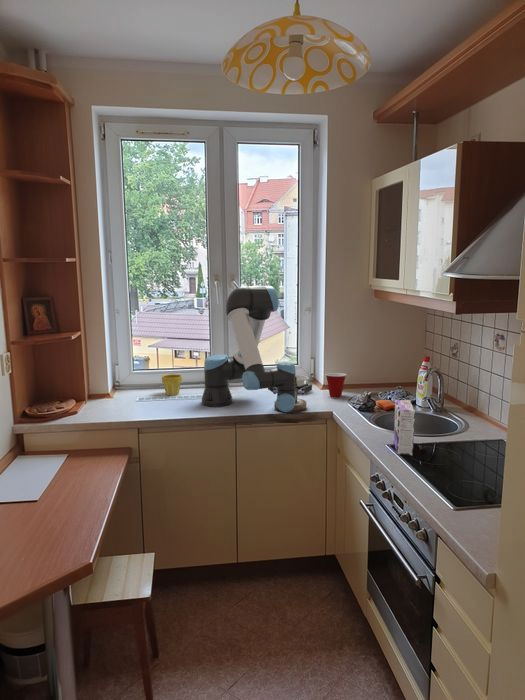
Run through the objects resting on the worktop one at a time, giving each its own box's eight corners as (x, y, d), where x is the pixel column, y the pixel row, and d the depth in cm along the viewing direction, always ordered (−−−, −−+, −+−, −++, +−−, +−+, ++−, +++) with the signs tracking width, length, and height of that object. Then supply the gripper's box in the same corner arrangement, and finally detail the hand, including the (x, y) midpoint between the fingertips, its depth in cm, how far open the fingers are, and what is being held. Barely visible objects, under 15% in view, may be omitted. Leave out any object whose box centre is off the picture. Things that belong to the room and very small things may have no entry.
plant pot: (170, 390, 267) (169, 373, 265) (186, 392, 262) (185, 374, 261) (158, 395, 258) (157, 377, 256) (174, 397, 253) (174, 378, 251)
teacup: (313, 391, 263) (314, 376, 262) (299, 395, 254) (299, 380, 253) (291, 386, 273) (291, 372, 272) (277, 391, 264) (277, 376, 262)
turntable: (270, 403, 236) (270, 399, 236) (298, 400, 241) (298, 396, 240) (281, 412, 222) (281, 407, 222) (311, 408, 227) (311, 404, 227)
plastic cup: (345, 393, 257) (345, 371, 255) (346, 399, 247) (347, 375, 245) (324, 393, 258) (324, 371, 256) (325, 398, 248) (325, 375, 246)
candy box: (393, 441, 187) (394, 399, 184) (409, 441, 186) (411, 399, 183) (396, 454, 174) (397, 409, 171) (413, 455, 173) (415, 410, 170)
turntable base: (274, 406, 235) (274, 404, 235) (297, 403, 239) (297, 402, 239) (283, 413, 224) (283, 411, 224) (307, 410, 228) (307, 409, 228)
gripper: (259, 402, 214) (264, 390, 235) (316, 403, 211) (317, 391, 232) (259, 385, 213) (264, 374, 234) (316, 386, 210) (317, 375, 231)
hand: (290, 382), depth 233 cm, fingers open, 13 cm apart
